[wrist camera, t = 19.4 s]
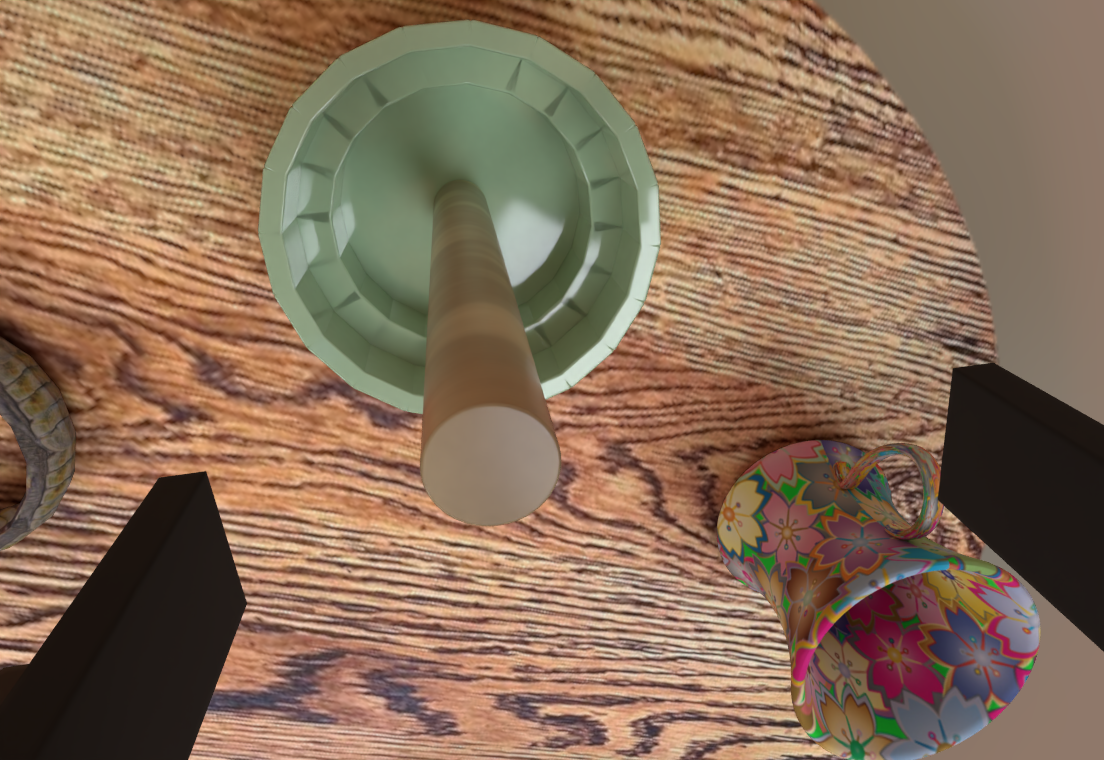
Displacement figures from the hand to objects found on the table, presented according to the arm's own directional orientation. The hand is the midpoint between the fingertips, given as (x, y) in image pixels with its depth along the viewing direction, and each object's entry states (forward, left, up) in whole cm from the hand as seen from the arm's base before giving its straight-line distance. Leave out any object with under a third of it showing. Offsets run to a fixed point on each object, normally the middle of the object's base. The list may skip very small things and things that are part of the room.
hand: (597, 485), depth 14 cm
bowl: (+2, -2, -19) cm, 19 cm away
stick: (+2, -2, -18) cm, 18 cm away
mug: (-12, +13, -19) cm, 26 cm away
